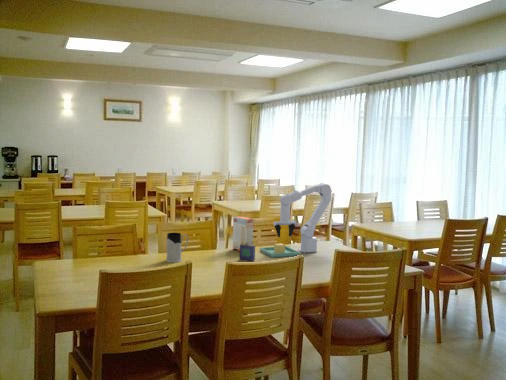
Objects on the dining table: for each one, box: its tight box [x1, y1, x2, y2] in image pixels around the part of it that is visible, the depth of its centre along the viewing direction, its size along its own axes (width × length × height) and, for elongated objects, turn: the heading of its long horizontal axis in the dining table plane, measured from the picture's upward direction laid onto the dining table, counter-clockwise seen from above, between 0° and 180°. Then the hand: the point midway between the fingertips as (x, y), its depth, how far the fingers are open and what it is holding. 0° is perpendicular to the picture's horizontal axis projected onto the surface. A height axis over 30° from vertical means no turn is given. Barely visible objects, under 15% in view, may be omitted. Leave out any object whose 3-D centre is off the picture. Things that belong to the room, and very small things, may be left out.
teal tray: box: [259, 245, 300, 258], centre depth 279 cm, size 18×18×2 cm
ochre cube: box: [273, 242, 286, 253], centre depth 279 cm, size 5×5×5 cm
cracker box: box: [232, 215, 254, 252], centre depth 284 cm, size 14×6×21 cm, turn 36°
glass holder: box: [165, 232, 189, 263], centre depth 257 cm, size 9×14×15 cm, turn 137°
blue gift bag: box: [239, 242, 256, 262], centre depth 260 cm, size 9×3×11 cm, turn 68°
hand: (284, 236), depth 284 cm, fingers open, 7 cm apart
